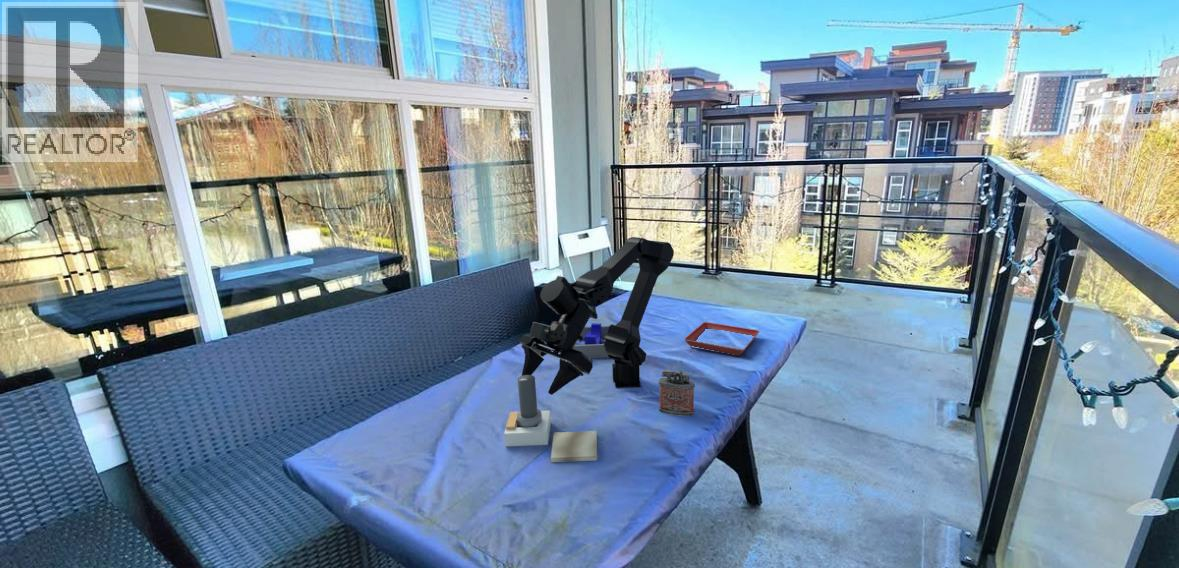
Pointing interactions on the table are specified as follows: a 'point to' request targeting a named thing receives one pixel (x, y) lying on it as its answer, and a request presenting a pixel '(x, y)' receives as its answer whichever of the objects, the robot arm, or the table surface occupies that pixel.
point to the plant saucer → (698, 331)
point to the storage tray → (593, 345)
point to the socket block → (527, 431)
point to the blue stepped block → (594, 334)
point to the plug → (528, 402)
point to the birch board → (574, 446)
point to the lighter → (676, 393)
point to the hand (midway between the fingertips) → (535, 387)
